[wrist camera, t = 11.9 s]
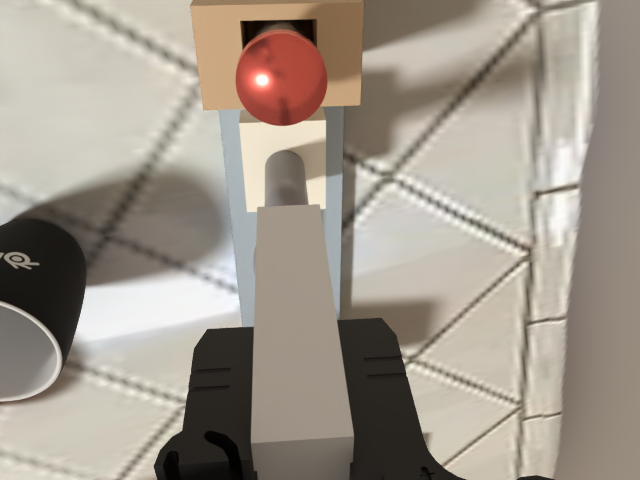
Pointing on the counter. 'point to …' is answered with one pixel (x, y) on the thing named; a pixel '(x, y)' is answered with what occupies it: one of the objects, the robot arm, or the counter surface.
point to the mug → (37, 304)
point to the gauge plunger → (281, 73)
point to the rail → (220, 94)
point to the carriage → (283, 162)
